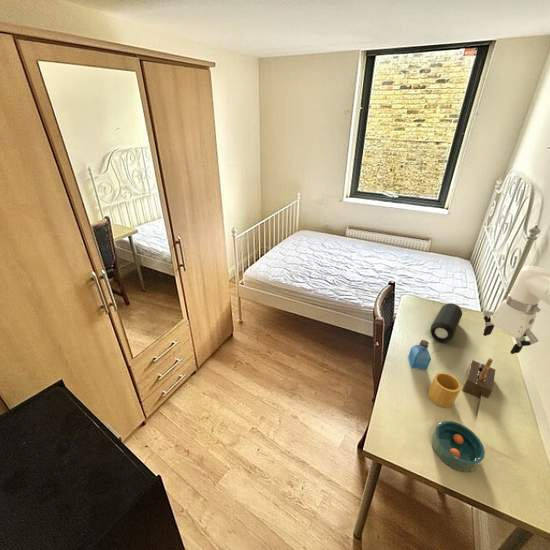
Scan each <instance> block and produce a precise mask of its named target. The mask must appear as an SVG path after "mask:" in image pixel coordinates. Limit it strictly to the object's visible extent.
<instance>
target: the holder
mask: <svg viewBox="0 0 550 550" xmlns="http://www.w3.org/2000/svg"><path fill="white" fill-rule="evenodd" d="M485 365H486V364H483V363H480V362H479V361H476V360H474V359H472V360H471V362H470V364H469V366H468V368H467V370H466V375H465V377H464V380H463V381H464V382H463V386H462V388H461V390H462V391H463V392H465V393H466V394H469V395H471V396H473V397H475V398H477V399H480V400H481V399H482V397H483V398H486V399H489V398H490V396H491V395H492V392H493V389H494V384H495V377H496V371H497V370H496V368H493V367H491V366H490V367H489V369H488V371H487V373H486V375H485V377H484V379H483V381H481V380H478V378H479V376H480V374H481V372H482V371H483V369H484V367H485Z"/></svg>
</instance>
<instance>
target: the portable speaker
mask: <svg viewBox="0 0 550 550" xmlns="http://www.w3.org/2000/svg"><path fill="white" fill-rule="evenodd" d="M462 317H463V310H462V308H461V307H460V305H458V304H457V303H453V302H449V303H446V304H443V305H442V306H441V308H440V309H439V311H438V313H437V315H436V316H435V318H434V321H433V322H432V324H431V326H430V330H429V331H430V334H431V337H432V338H433V339H434V340H435V341H437V342H440V343H446V342H448V341H451V340H452V339H453V337H454V335H455V333H456V331H457V328H458V326H459V323H460V321H461V318H462Z"/></svg>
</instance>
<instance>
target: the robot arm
mask: <svg viewBox="0 0 550 550" xmlns="http://www.w3.org/2000/svg"><path fill="white" fill-rule="evenodd" d="M540 301H542V302H544V303H545V304H547V305H549V306H550V270H548V269H546V268H543V267H540V266H536V265H525V266H524V267H522V268H521V269H520V270H519V273H518V275H517V277H516V278H515V281H514V283H513V285H512V286H511V289H510V291H509V293H508V295H507V297H506V299H504V300H502V302H501V303H500V304H499V305H498V306H497V307H496V310H489V309H486V310H483V320H484V326H485V328H484V330H483V334H482V335H483V336H484V337H486V336H490V335H491V334H492V333H493V330H494V328H495V327H496V328H497V329H499V330H501V331H502V332H504V333H505V334H507V335H509V336H510V337H512V338H514V340H515V342H516V343H515V344H514V345H513V347H512V348H511V350H510V354H511V355H515V354H519V353H520V352H521V351H522V350H523V347H528V346H531V345H534V344H536V343H538V342H539V339H538V338H537V336H536V335H535V334H534V333H533V331H532V328H533V326H534V324H535V320H536V317H537V313H540V312H541V310H542V309H541V308H540V307H539V303H540ZM526 337H527V338H528V339H529V340H527V339H526Z"/></svg>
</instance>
